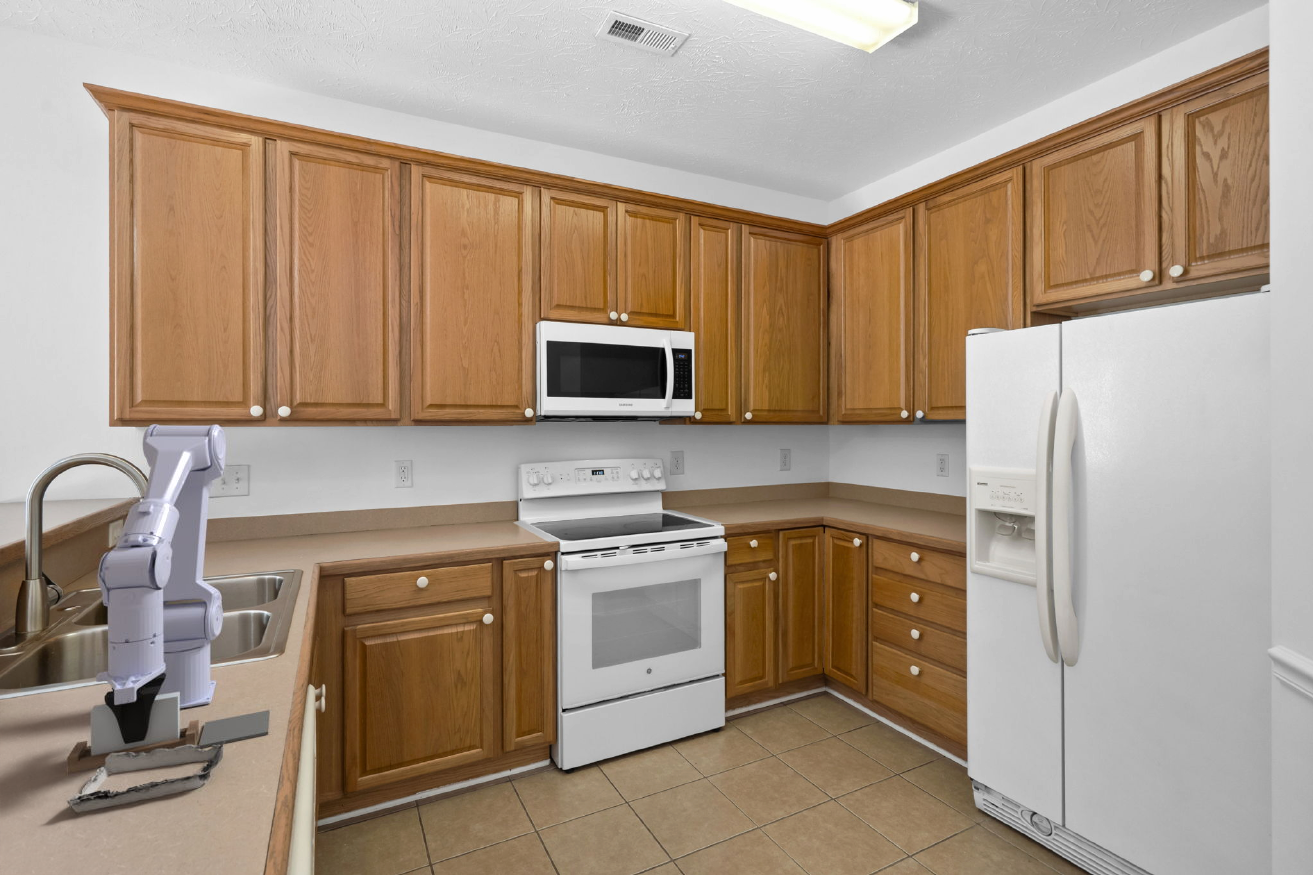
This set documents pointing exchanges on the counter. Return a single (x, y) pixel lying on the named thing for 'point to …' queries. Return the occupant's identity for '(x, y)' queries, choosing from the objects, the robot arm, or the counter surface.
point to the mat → (235, 729)
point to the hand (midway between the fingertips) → (137, 737)
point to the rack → (84, 760)
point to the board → (160, 727)
